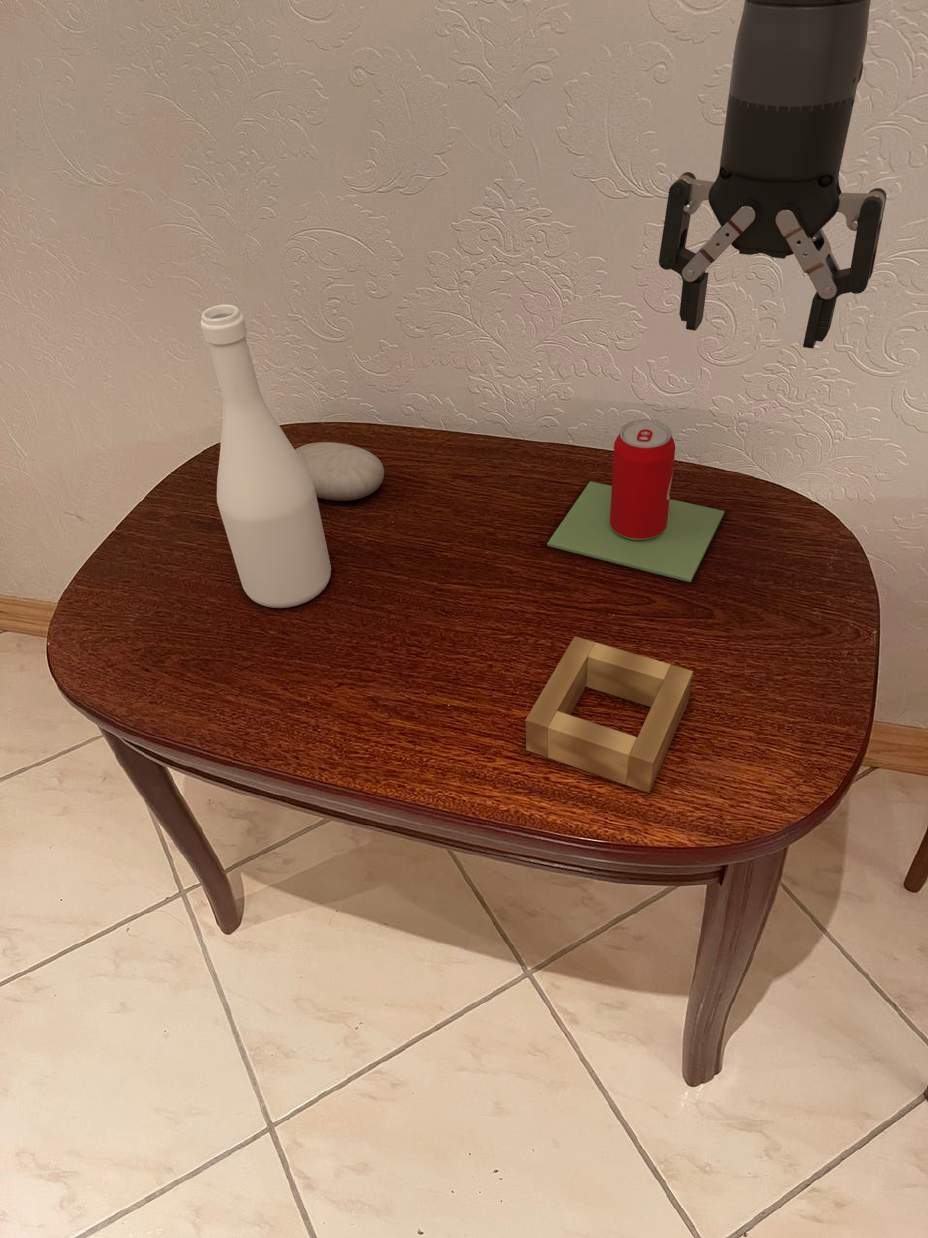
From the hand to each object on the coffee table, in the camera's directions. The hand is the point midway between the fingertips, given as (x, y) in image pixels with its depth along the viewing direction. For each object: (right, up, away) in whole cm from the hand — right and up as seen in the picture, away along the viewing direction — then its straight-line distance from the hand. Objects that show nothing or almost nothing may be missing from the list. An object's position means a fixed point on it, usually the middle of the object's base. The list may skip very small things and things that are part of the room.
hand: (751, 334), depth 66 cm
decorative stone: (-37, -5, +42) cm, 56 cm away
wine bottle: (-40, -17, +30) cm, 53 cm away
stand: (-9, -30, +12) cm, 34 cm away
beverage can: (-2, -11, +32) cm, 34 cm away
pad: (-2, -11, +33) cm, 35 cm away
